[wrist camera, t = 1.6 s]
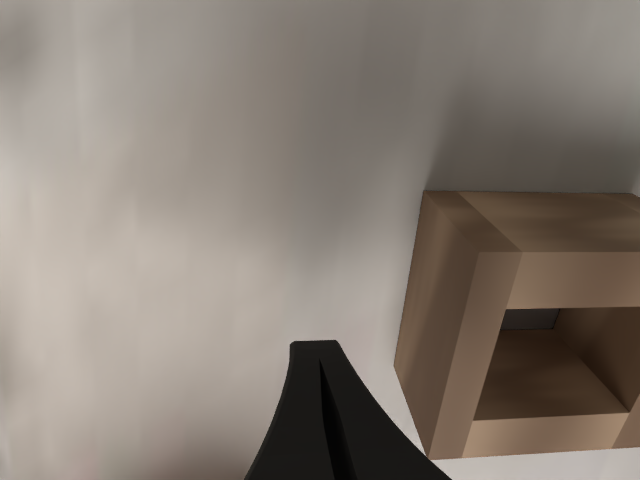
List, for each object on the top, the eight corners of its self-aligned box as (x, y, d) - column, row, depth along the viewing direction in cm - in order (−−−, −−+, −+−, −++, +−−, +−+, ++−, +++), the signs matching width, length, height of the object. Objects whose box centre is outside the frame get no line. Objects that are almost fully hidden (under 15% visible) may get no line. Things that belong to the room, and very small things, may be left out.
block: (632, 194, 16) (751, 251, 12) (566, 360, 20) (641, 447, 16) (423, 190, 15) (479, 252, 11) (393, 366, 19) (427, 460, 15)
